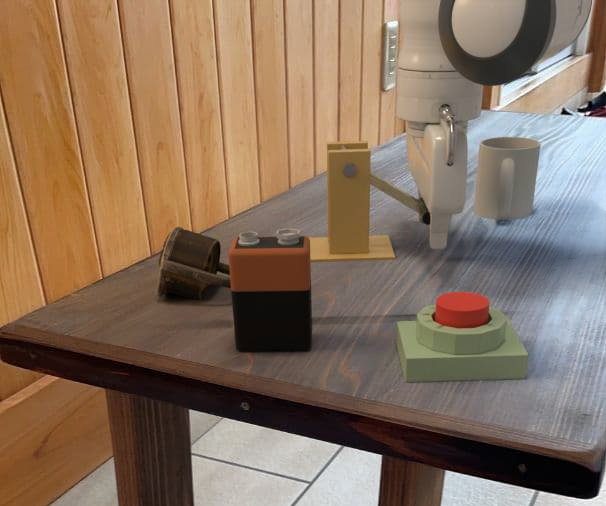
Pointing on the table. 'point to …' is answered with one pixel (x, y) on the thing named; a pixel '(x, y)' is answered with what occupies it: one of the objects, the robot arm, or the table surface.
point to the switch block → (460, 349)
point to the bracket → (349, 209)
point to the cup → (506, 177)
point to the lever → (400, 195)
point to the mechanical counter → (190, 264)
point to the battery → (271, 291)
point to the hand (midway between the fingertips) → (431, 234)
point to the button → (462, 310)
